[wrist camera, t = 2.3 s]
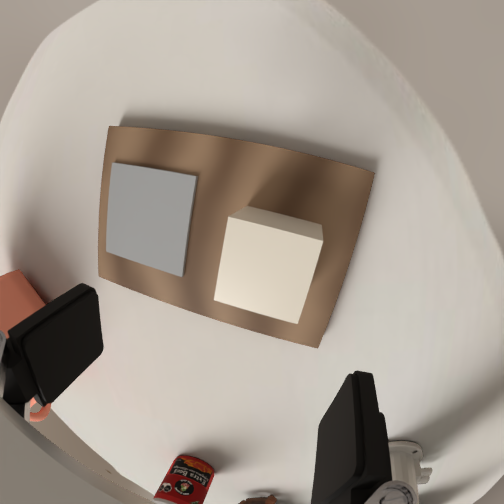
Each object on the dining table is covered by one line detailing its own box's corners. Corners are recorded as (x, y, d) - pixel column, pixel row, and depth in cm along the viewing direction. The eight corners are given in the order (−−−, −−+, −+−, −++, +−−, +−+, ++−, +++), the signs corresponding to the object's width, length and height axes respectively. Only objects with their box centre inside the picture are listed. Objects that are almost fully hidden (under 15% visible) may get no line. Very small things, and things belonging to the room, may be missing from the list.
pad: (198, 176, 22) (196, 176, 22) (183, 275, 25) (182, 277, 25) (114, 162, 24) (112, 162, 23) (108, 250, 27) (106, 251, 26)
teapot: (72, 403, 43) (23, 454, 27) (6, 325, 42) (-47, 361, 26) (101, 352, 34) (21, 429, 18) (15, 245, 34) (-69, 283, 17)
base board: (371, 172, 21) (374, 172, 19) (318, 339, 26) (317, 348, 25) (118, 127, 24) (109, 126, 23) (106, 271, 29) (98, 276, 28)
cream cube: (321, 224, 21) (323, 241, 17) (301, 293, 23) (297, 324, 19) (247, 205, 22) (228, 216, 18) (233, 274, 24) (213, 300, 20)
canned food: (219, 465, 37) (199, 515, 27) (211, 479, 40) (192, 523, 30) (177, 448, 38) (151, 496, 28) (173, 464, 41) (151, 506, 31)
